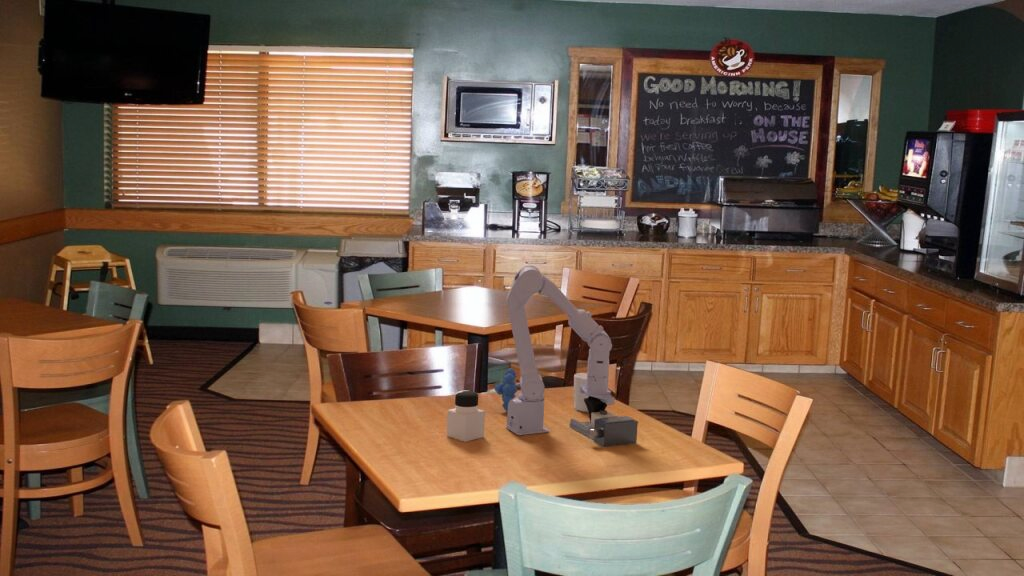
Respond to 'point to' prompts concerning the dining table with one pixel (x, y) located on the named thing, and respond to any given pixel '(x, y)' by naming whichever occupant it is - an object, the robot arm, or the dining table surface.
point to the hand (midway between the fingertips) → (595, 424)
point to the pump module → (600, 416)
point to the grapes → (507, 388)
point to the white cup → (579, 397)
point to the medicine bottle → (465, 417)
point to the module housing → (609, 430)
